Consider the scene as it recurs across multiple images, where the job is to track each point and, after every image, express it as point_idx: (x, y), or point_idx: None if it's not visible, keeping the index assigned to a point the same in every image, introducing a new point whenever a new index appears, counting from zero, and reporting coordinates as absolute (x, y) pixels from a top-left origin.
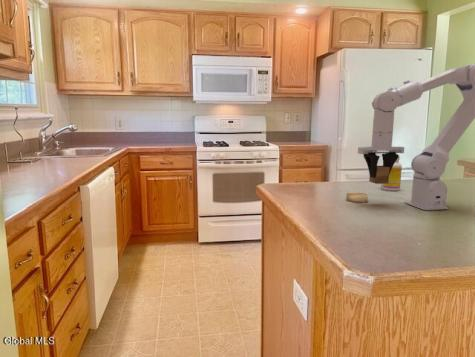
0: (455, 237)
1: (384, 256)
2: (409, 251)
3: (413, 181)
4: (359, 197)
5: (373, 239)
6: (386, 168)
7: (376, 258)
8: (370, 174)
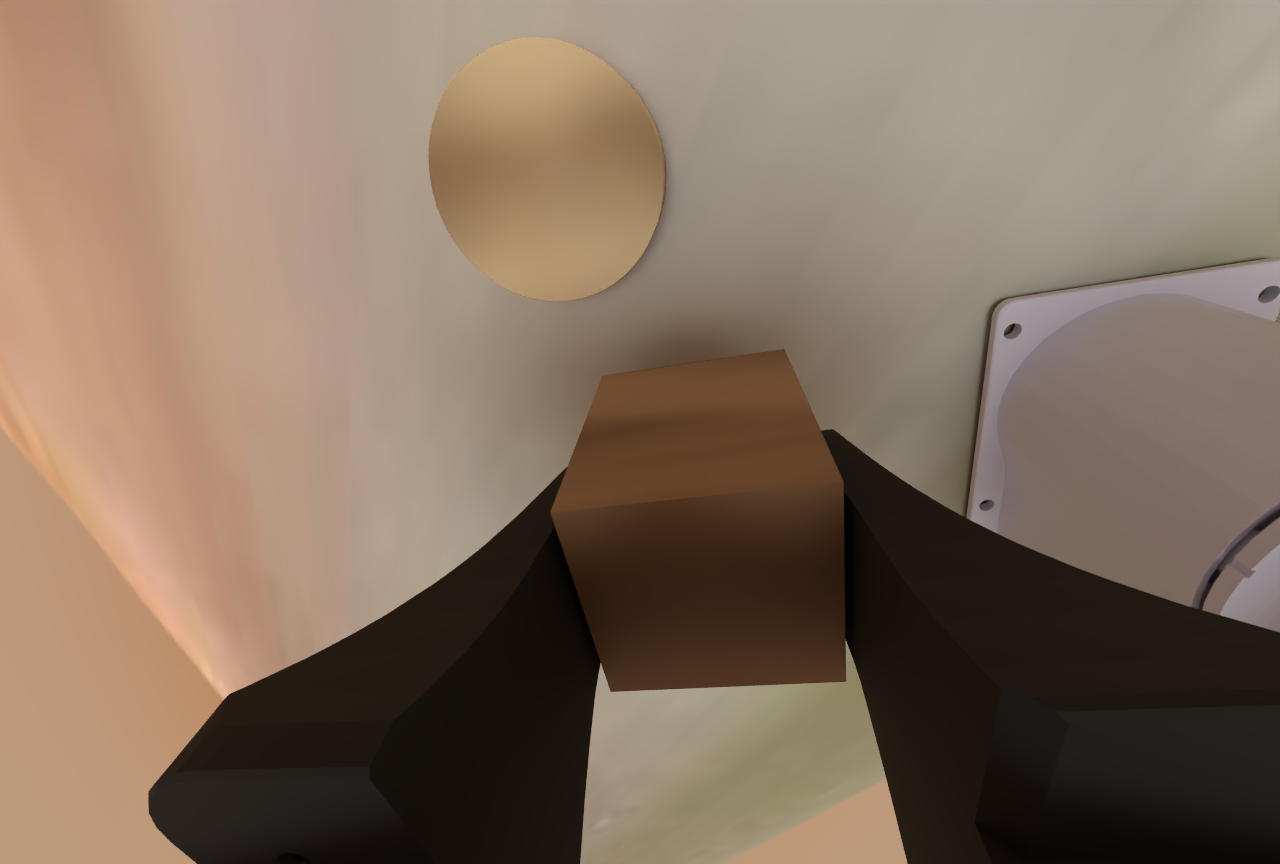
0: (767, 806)
1: None
2: None
3: (1177, 503)
4: (544, 298)
5: None
6: (778, 667)
7: None
8: None
